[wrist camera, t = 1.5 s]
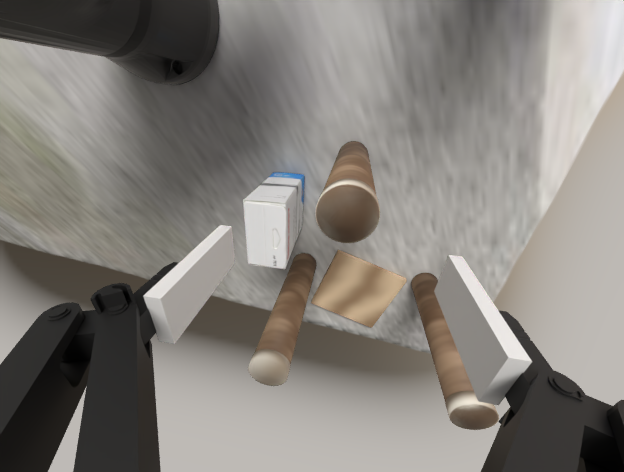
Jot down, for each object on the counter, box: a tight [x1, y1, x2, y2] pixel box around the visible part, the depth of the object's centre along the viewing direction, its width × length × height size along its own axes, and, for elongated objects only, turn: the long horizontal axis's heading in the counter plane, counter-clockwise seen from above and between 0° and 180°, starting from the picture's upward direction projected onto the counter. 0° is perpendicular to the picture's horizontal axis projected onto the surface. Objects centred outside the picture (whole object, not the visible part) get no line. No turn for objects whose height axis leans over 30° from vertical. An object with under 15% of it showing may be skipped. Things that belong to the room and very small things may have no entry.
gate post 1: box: [248, 253, 316, 386], centre depth 34 cm, size 4×4×20 cm
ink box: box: [243, 172, 305, 269], centre depth 33 cm, size 9×5×12 cm, turn 176°
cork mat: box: [311, 250, 407, 328], centre depth 43 cm, size 12×12×1 cm
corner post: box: [411, 273, 499, 430], centre depth 32 cm, size 4×4×20 cm
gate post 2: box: [315, 141, 380, 243], centre depth 25 cm, size 4×4×20 cm
